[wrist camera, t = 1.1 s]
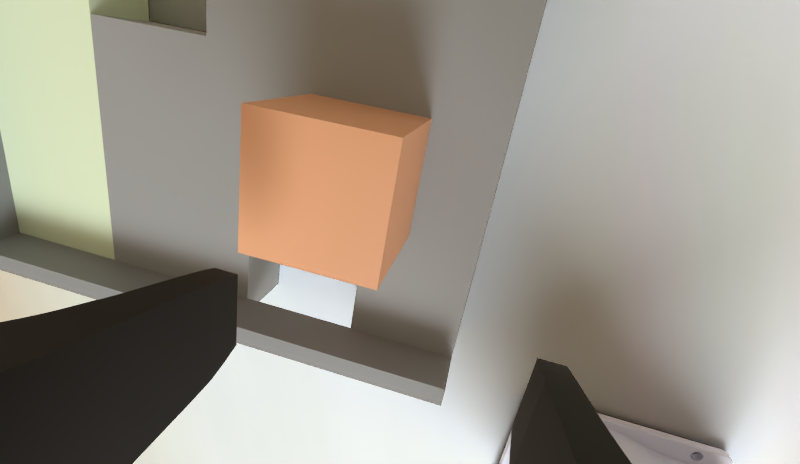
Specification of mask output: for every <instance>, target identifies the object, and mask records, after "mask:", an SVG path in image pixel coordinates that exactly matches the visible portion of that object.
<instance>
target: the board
mask: <svg viewBox="0 0 800 464" xmlns="http://www.w3.org/2000/svg"><path fill="white" fill-rule="evenodd" d="M546 2H547V0H206V32H202V31H197V30H192V29H187V28H181V27H176V26H171V25H166V24H161V23H155V22H150V21H149V7H148V0H0V270H3V271H6V272H9V273H12V274H16V275H19V276H22V277H25V278H29V279H32V280H35V281H38V282H42V283H45V284H48V285H51V286H55V287H58V288H61V289H64V290H67V291H71V292H74V293H77V294H80V295H84V296H87V297H90V298H93V299H97V300H99V299H103V298H106V297H110V296H114V295H118V294H121V293H125V292H128V291H131V290H135V289H138V288H142V287H145V286H149V285H152V284H155V283H159V282H162V281H166V280H169V279H173V278H176V277H180V276H183V275H187V274H190V273H194V272H198V271H202V270H207V269H212V268H217V269H221V270H224V271H228V272H231V273H235V274H238V290H237V335H236V343H239V344H243V345H246V346H249V347H252V348H256V349H259V350H262V351H265V352H269V353H272V354H275V355H278V356H282V357H285V358H288V359H291V360H295V361H298V362H301V363H304V364H307V365H311V366H314V367H317V368H320V369H324V370H327V371H330V372H333V373H337V374H340V375H343V376H346V377H350V378H353V379H356V380H359V381H363V382H366V383H369V384H372V385H376V386H379V387H382V388H385V389H389V390H392V391H395V392H398V393H402V394H405V395H408V396H411V397H414V398H418V399H421V400H424V401H427V402H431V403H434V404H437V405H440V406H441V403H442V399H443V395H444V392H445V387H446V382H447V377H448V372H449V367H450V362H451V357H452V353H453V349H454V346H455V342H456V338H457V335H458V331H459V327H460V323H461V320H462V316H463V312H464V308H465V305H466V301H467V297H468V293H469V290H470V286H471V282H472V279H473V275H474V271H475V267H476V264H477V260H478V256H479V252H480V249H481V245H482V241H483V237H484V234H485V230H486V226H487V223H488V219H489V215H490V211H491V208H492V204H493V200H494V196H495V193H496V189H497V185H498V181H499V178H500V174H501V170H502V167H503V163H504V159H505V155H506V152H507V148H508V144H509V140H510V137H511V133H512V129H513V125H514V122H515V118H516V114H517V111H518V107H519V103H520V99H521V96H522V92H523V88H524V84H525V81H526V77H527V73H528V69H529V66H530V62H531V58H532V55H533V51H534V47H535V43H536V40H537V36H538V32H539V28H540V25H541V21H542V17H543V13H544V10H545V6H546ZM305 94H315V95H320V96H325V97H330V98H334V99H339V100H344V101H349V102H354V103H359V104H363V105H368V106H373V107H378V108H383V109H388V110H392V111H397V112H402V113H407V114H412V115H417V116H421V117H426V118H431V119H432V120H431V125H430V131H429V136H428V141H427V146H426V151H425V156H424V162H423V167H422V172H421V177H420V182H419V187H418V193H417V198H416V203H415V208H414V213H413V218H412V224H411V229H410V234H409V237H408V239H407V240H406V242H405V244H404V245H403V247H402V249H401V251H400V252H399V254H398V256H397V257H396V259H395V261H394V262H393V264H392V266H391V267H390V269H389V271H388V273H387V274H386V276H385V278H384V279H383V281H382V283H381V284H380V286H379V288H378V290H373V289H370V288H366V287H362V286H359V285H357V291H356V297H355V304H354V311H353V317H352V324H351V328H348V327H344V326H341V325H337V324H334V323H330V322H327V321H324V320H320V319H317V318H313V317H310V316H306V315H303V314H299V313H296V312H293V311H289V310H286V309H282V308H279V307H275V306H272V305H268V304H265V303H262V302H259V301H260V300H261V299H262V298H263V297H264V296H265V295H267V294H268V293H269V292H270V291H271V290H272V289H273V288H274V287H275V286H276V285H277V284H278V280H279V265H280V264H278V263H274V262H271V261H267V260H264V259H260V258H256V257H253V256H249V255H245V254H242V253H238V224H239V182H240V139H241V103H245V102H252V101H260V100H267V99H275V98H283V97H290V96H298V95H305Z"/></svg>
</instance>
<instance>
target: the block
mask: <svg viewBox="0 0 800 464" xmlns="http://www.w3.org/2000/svg"><path fill="white" fill-rule="evenodd" d="M431 120H432V119H431V118H426V117H421V116H417V115H412V114H407V113H402V112H397V111H392V110H388V109H383V108H378V107H373V106H368V105H363V104H359V103H354V102H349V101H344V100H339V99H334V98H330V97H325V96H320V95H315V94H305V95H298V96H290V97H283V98H275V99H267V100H260V101H252V102H245V103H241V139H240V182H239V224H238V253H242V254H245V255H249V256H253V257H256V258H260V259H264V260H267V261H271V262H274V263H278V264H282V265H285V266H289V267H293V268H296V269H300V270H304V271H307V272H311V273H315V274H318V275H322V276H326V277H329V278H333V279H337V280H340V281H344V282H348V283H351V284H355V285H359V286H362V287H366V288H370V289H373V290H378V288H379V286H380V284H381V283H382V281H383V279H384V278H385V276H386V274H387V273H388V271H389V269H390V267H391V266H392V264H393V262H394V261H395V259H396V257H397V256H398V254H399V252H400V251H401V249H402V247H403V245H404V244H405V242H406V240H407V239H408V237H409V234H410V229H411V224H412V218H413V213H414V208H415V203H416V198H417V193H418V187H419V182H420V177H421V172H422V167H423V162H424V156H425V151H426V146H427V141H428V136H429V131H430V125H431Z"/></svg>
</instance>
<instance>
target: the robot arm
mask: <svg viewBox="0 0 800 464" xmlns="http://www.w3.org/2000/svg"><path fill="white" fill-rule="evenodd" d="M237 290H238V274H235V273H231V272H228V271H224V270H221V269H217V268H212V269H207V270H202V271H198V272H194V273H190V274H187V275H183V276H180V277H176V278H173V279H169V280H166V281H162V282H159V283H155V284H152V285H149V286H145V287H142V288H138V289H135V290H131V291H128V292H125V293H121V294H118V295H114V296H110V297H106V298H103V299H99V300H95V301H91V302H87V303H83V304H80V305H76V306H72V307H68V308H64V309H60V310H56V311H52V312H48V313H44V314H39V315H34V316H30V317H25V318H20V319H15V320H10V321H5V322H0V464H133V462H134V461H135V460H136V459H137V458H138V457H139V456H140V455H141V454H142V453H143V452H144V451H145V450H146V449H147V448H148V446H149V445H150V444H151V443H152V442H153V441H154V440H155V439H156V438H157V437H158V436H159V435H160V434H161V433H162V432H163V431H164V430H165V429H166V427H167V426H168V425H169V424H170V423H171V422H172V421H173V420H174V419H175V418H176V417H177V416H178V415H179V414H180V413H181V412H182V411H183V410H184V409H185V407H186V406H187V405H188V404H189V403H190V402H191V401H192V400H193V399H194V398H195V397H196V396H197V395H198V393H199V392H200V391H201V390H202V389H203V388H204V387H205V386H206V385H207V384H208V383H209V381H210V380H211V379H212V378H213V376H214V375H215V374H216V372H217V371H218V370H219V368H220V367H221V366H222V364H223V363H224V362H225V360H226V359H227V357H228V356H229V354H230V353H231V352H232V350H233V349H234V347H235V346H236V335H237ZM694 452H698V453H696V454H692V453H694ZM499 464H732V460H731V458H730V456H729V454H728V453H727V452H726V451H724V450H722V449H718V448H715V447H712V446H708V445H705V444H701V443H698V442H695V441H691V440H688V439H684V438H681V437H678V436H674V435H671V434H667V433H664V432H661V431H657V430H654V429H650V428H647V427H644V426H640V425H637V424H633V423H630V422H627V421H623V420H620V419H617V418H613V417H610V416H606V415H603V414H600V413H597V412H596V410H595V409H594V407H593V406H592V404H591V403H590V401H589V400H588V398H587V397H586V395H585V393H584V392H583V390H582V389H581V387H580V386H579V384H578V382H577V381H576V379H575V378H574V376H573V375H572V373H571V372H570V370H569V369H568V367H567V366H563V365H560V364H556V363H553V362H549V361H546V360H542V359H538V358H537V361H536V364H535V367H534V369H533V372H532V375H531V378H530V380H529V383H528V386H527V389H526V391H525V394H524V397H523V400H522V402H521V405H520V408H519V411H518V413H517V416H516V419H515V422H514V424H513V427H512V430H511V433H510V435H509V438H508V441H507V444H506V446H505V449H504V452H503V454H502V457H501V460H500V463H499Z"/></svg>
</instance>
